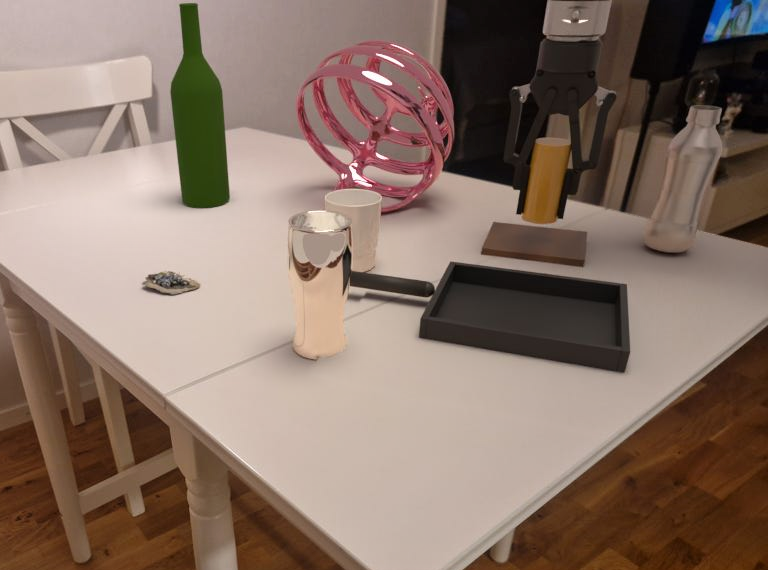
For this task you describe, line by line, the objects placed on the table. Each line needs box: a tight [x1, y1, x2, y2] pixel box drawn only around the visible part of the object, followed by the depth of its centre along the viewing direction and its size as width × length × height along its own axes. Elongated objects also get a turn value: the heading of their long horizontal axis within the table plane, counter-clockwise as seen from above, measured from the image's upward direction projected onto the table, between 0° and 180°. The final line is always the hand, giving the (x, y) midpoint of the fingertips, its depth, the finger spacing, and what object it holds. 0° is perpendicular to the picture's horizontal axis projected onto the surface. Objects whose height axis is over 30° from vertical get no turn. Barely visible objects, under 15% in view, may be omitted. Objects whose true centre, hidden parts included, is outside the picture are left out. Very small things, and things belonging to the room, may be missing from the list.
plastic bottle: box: [643, 104, 723, 254], centre depth 92 cm, size 6×7×20 cm
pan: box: [418, 261, 631, 374], centre depth 78 cm, size 22×18×3 cm
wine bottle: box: [169, 2, 231, 209], centre depth 115 cm, size 9×9×32 cm
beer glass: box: [286, 209, 353, 361], centre depth 71 cm, size 7×7×15 cm
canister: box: [520, 137, 572, 225], centre depth 94 cm, size 5×5×11 cm
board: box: [480, 221, 588, 268], centre depth 99 cm, size 14×12×2 cm
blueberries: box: [141, 270, 201, 296], centre depth 90 cm, size 7×8×2 cm
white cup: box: [324, 188, 383, 273], centre depth 93 cm, size 8×8×10 cm
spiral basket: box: [295, 39, 456, 214], centre depth 113 cm, size 28×28×27 cm
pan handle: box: [349, 271, 436, 299], centre depth 83 cm, size 12×2×2 cm, turn 67°
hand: (540, 213), depth 96 cm, fingers closed on canister, 5 cm apart
